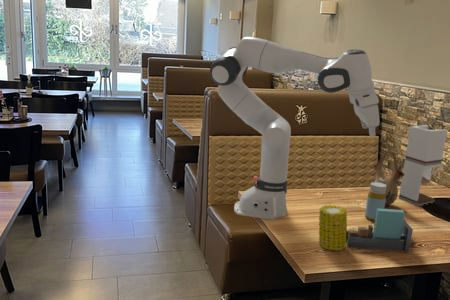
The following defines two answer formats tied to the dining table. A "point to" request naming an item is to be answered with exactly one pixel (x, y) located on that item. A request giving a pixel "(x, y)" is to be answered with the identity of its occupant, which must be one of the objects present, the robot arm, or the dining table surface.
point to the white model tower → (421, 162)
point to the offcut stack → (361, 232)
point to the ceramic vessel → (388, 179)
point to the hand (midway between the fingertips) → (368, 131)
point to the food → (332, 227)
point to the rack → (383, 241)
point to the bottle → (375, 199)
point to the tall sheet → (388, 223)
